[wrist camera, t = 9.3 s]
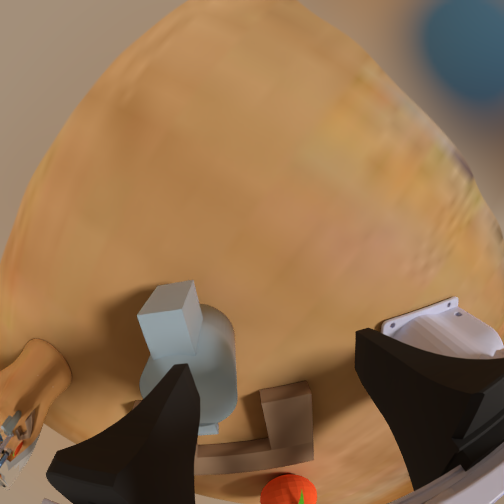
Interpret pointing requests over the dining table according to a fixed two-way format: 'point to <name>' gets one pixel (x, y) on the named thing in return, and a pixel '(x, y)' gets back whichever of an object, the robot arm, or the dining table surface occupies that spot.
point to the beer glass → (27, 403)
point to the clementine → (289, 491)
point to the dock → (268, 449)
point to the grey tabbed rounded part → (191, 349)
